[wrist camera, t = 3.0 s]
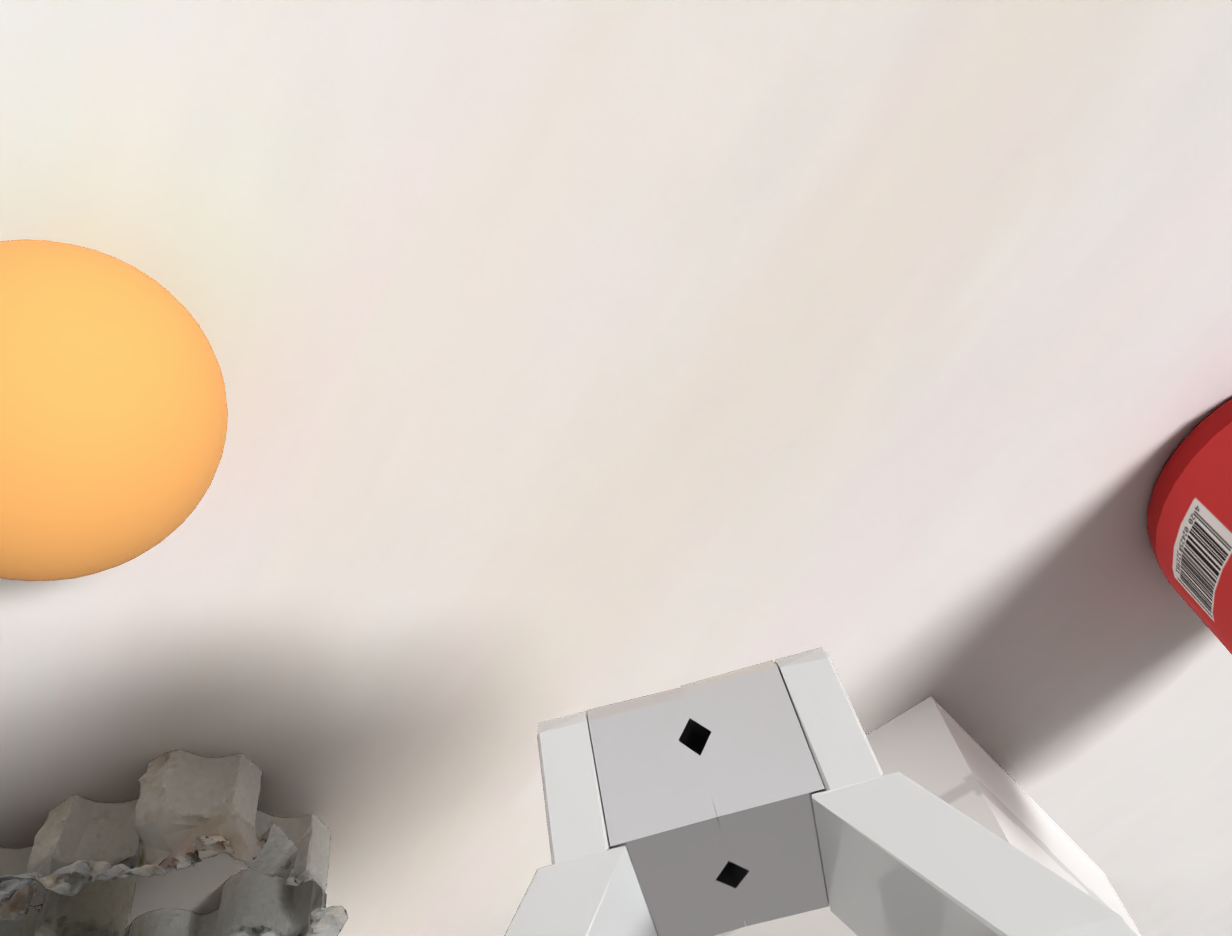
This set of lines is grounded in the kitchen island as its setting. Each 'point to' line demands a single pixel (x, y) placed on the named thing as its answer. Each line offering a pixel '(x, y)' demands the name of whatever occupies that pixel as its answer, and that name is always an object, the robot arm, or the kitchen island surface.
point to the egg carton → (172, 859)
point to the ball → (97, 411)
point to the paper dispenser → (961, 810)
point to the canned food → (1198, 521)
